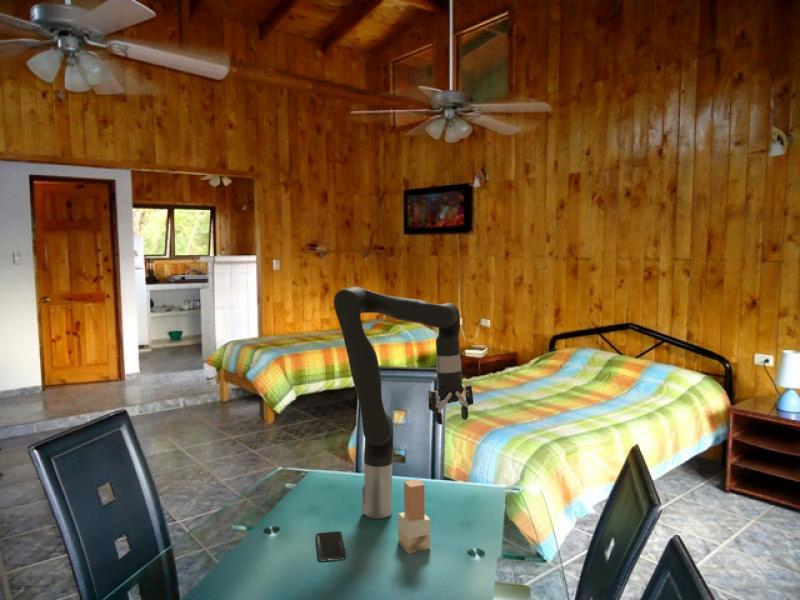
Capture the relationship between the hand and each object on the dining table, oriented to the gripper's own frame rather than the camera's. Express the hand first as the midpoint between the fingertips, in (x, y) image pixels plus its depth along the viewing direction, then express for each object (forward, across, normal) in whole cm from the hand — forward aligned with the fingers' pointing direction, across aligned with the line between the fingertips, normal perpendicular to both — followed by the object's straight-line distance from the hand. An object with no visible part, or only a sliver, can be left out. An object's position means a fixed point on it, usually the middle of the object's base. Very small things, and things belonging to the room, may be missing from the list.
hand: (452, 421), depth 176 cm
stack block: (+25, -16, -3) cm, 30 cm away
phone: (+32, -39, +6) cm, 51 cm away
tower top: (+29, -16, -3) cm, 34 cm away
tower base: (+34, -17, -3) cm, 38 cm away
